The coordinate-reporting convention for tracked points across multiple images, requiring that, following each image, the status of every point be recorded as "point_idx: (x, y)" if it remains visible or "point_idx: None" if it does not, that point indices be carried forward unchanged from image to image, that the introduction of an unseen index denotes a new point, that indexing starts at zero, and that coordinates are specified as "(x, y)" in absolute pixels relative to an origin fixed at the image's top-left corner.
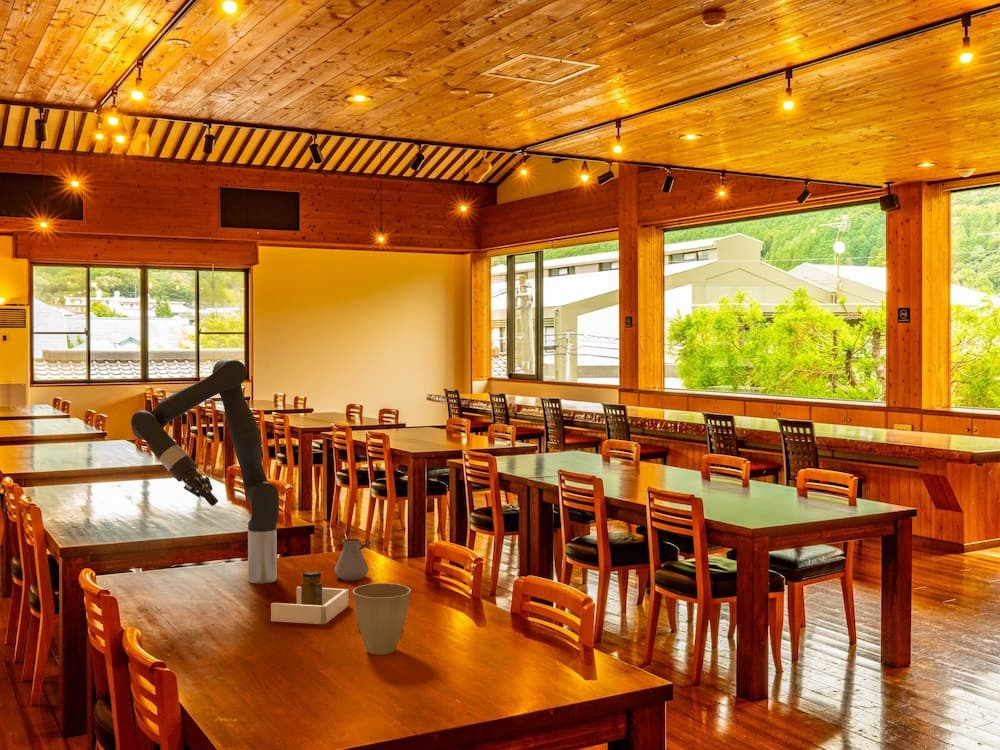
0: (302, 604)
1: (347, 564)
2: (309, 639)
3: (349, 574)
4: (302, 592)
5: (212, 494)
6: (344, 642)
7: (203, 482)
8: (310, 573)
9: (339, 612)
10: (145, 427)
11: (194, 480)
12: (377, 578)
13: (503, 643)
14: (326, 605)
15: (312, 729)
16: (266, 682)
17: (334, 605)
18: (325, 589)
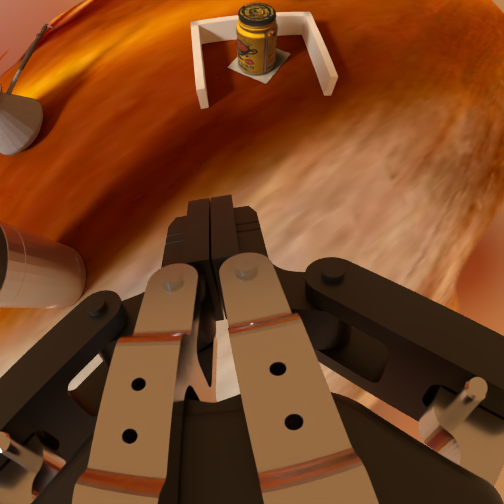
0: (314, 36)
1: (28, 109)
2: (372, 30)
3: (42, 111)
4: (274, 43)
5: (192, 241)
6: (358, 2)
7: (179, 389)
8: (260, 12)
9: None
10: None
11: (383, 473)
12: None
13: None
14: (301, 12)
15: (498, 14)
16: (482, 45)
17: None
18: (200, 46)
